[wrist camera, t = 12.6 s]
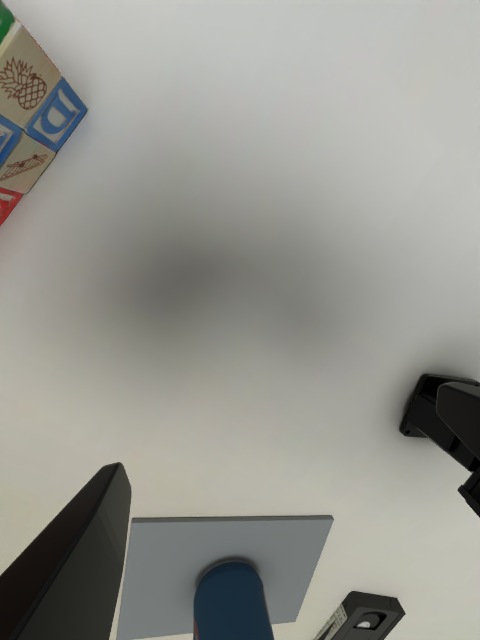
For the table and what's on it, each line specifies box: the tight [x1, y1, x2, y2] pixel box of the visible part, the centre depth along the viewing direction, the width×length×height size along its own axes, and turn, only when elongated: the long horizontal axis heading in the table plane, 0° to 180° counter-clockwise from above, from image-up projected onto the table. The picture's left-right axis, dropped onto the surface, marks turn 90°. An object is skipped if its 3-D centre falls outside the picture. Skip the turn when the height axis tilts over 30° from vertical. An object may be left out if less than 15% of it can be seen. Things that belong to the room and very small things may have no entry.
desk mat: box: [116, 516, 334, 640], centre depth 27 cm, size 20×16×1 cm
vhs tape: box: [313, 591, 406, 640], centre depth 34 cm, size 14×8×2 cm, turn 152°
